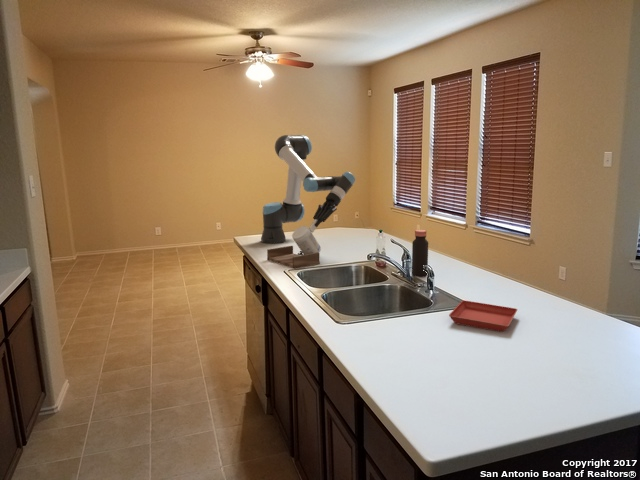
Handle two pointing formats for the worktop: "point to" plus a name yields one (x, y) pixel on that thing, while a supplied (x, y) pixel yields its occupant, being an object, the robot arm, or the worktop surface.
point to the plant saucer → (483, 315)
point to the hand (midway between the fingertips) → (310, 230)
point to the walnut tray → (292, 257)
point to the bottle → (419, 253)
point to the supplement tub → (306, 240)
